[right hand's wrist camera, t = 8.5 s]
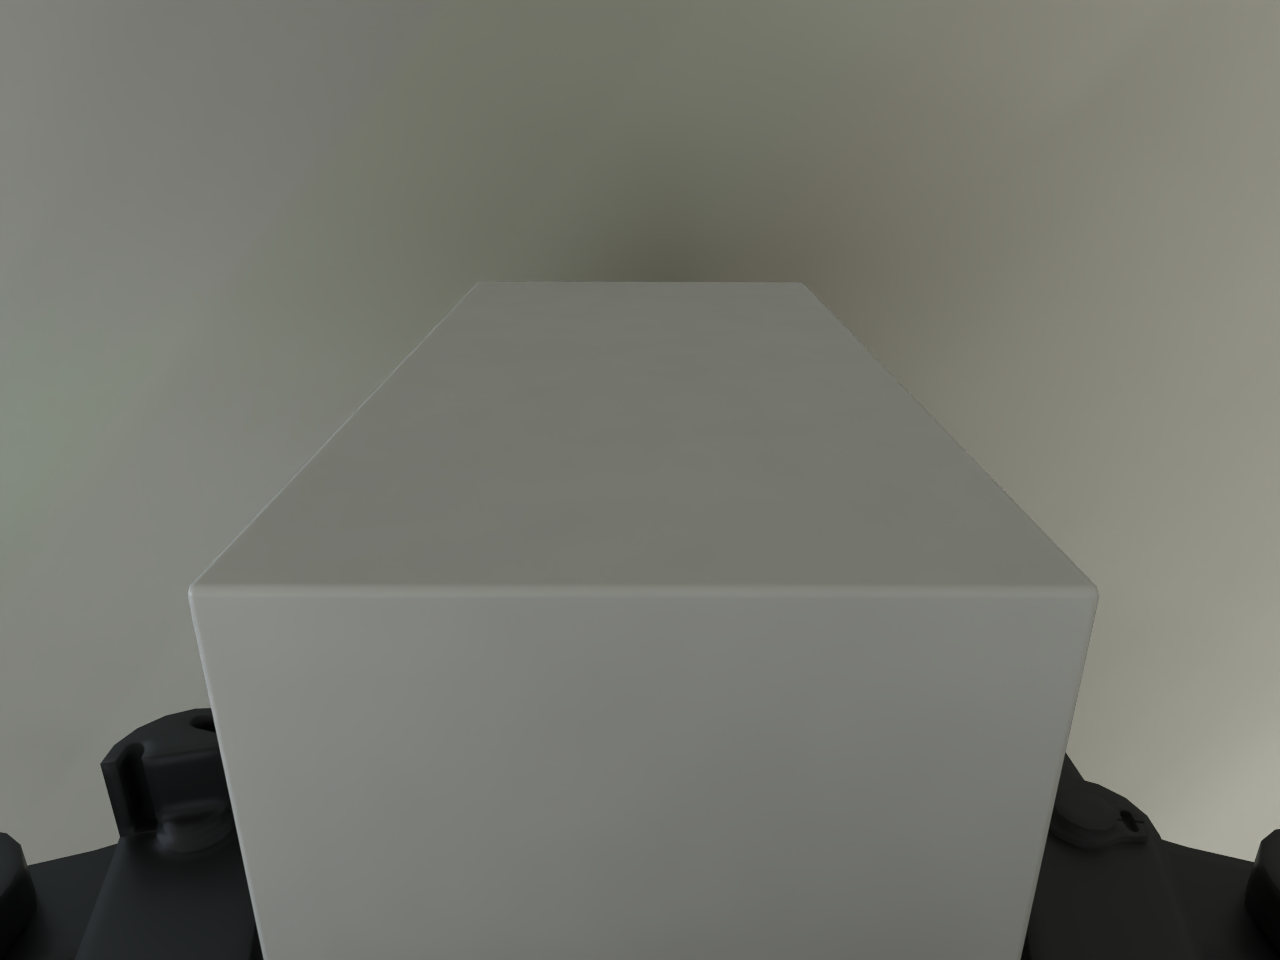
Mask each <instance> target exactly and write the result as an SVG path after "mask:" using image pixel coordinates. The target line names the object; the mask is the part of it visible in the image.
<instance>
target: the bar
mask: <svg viewBox="0 0 1280 960" xmlns="http://www.w3.org/2000/svg"><path fill="white" fill-rule="evenodd" d="M188 599H189V604H190V609H191V614H192V618H193V623H194V628H195V633H196V638H197V642H198V647H199V652H200V657H201V662H202V666H203V671H204V676H205V681H206V686H207V690H208V695H209V700H210V705H211V710H212V714H213V719H214V724H215V729H216V734H217V738H218V743H219V748H220V753H221V758H222V762H223V767H224V772H225V777H226V782H227V786H228V791H229V796H230V801H231V805H232V810H233V815H234V820H235V825H236V829H237V834H238V839H239V844H240V849H241V853H242V858H243V863H244V868H245V873H246V877H247V882H248V887H249V892H250V897H251V901H252V906H253V911H254V916H255V921H256V925H257V930H258V935H259V940H260V945H261V949H262V954H263V959H264V960H1020V959H1021V955H1022V950H1023V946H1024V941H1025V936H1026V932H1027V927H1028V922H1029V918H1030V913H1031V909H1032V904H1033V899H1034V895H1035V890H1036V885H1037V881H1038V876H1039V872H1040V867H1041V862H1042V858H1043V853H1044V848H1045V844H1046V839H1047V835H1048V830H1049V825H1050V821H1051V816H1052V811H1053V807H1054V802H1055V798H1056V793H1057V788H1058V784H1059V779H1060V775H1061V770H1062V765H1063V761H1064V756H1065V751H1066V747H1067V742H1068V738H1069V733H1070V728H1071V724H1072V719H1073V714H1074V710H1075V705H1076V701H1077V696H1078V691H1079V687H1080V682H1081V677H1082V673H1083V668H1084V664H1085V659H1086V654H1087V650H1088V645H1089V640H1090V636H1091V631H1092V627H1093V622H1094V617H1095V613H1096V608H1097V604H1098V599H1099V595H1098V590H1097V586H1096V585H1095V584H1094V583H1093V582H1092V581H1091V580H1090V579H1089V578H1088V577H1087V576H1086V575H1085V574H1084V573H1083V572H1082V571H1081V570H1080V569H1079V568H1078V567H1077V566H1076V565H1075V564H1074V563H1073V562H1072V561H1071V560H1070V558H1069V557H1068V556H1067V555H1066V554H1065V553H1064V552H1063V551H1062V550H1061V549H1060V548H1059V547H1058V546H1057V545H1056V544H1055V543H1054V542H1053V541H1052V540H1051V539H1050V538H1049V537H1048V536H1047V535H1046V534H1045V533H1044V532H1043V531H1042V530H1041V528H1040V527H1039V526H1038V525H1037V524H1036V523H1035V522H1034V521H1033V520H1032V519H1031V518H1030V517H1029V516H1028V515H1027V514H1026V513H1025V512H1024V511H1023V510H1022V509H1021V508H1020V507H1019V506H1018V505H1017V504H1016V503H1015V502H1014V501H1013V500H1012V499H1011V497H1010V496H1009V495H1008V494H1007V493H1006V492H1005V491H1004V490H1003V489H1002V488H1001V487H1000V486H999V485H998V484H997V483H996V482H995V481H994V480H993V479H992V478H991V477H990V476H989V475H988V474H987V473H986V472H985V471H984V470H983V469H982V467H981V466H980V465H979V464H978V463H977V462H976V461H975V460H974V459H973V458H972V457H971V456H970V455H969V454H968V453H967V452H966V451H965V450H964V449H963V448H962V447H961V446H960V445H959V444H958V443H957V442H956V441H955V440H954V439H953V437H952V436H951V435H950V434H949V433H948V432H947V431H946V430H945V429H944V428H943V427H942V426H941V425H940V424H939V423H938V422H937V421H936V420H935V419H934V418H933V417H932V416H931V415H930V414H929V413H928V412H927V411H926V410H925V409H924V407H923V406H922V405H921V404H920V403H919V402H918V401H917V400H916V399H915V398H914V397H913V396H912V395H911V394H910V393H909V392H908V391H907V390H906V389H905V388H904V387H903V386H902V385H901V384H900V383H899V382H898V381H897V380H896V379H895V378H894V376H893V375H892V374H891V373H890V372H889V371H888V370H887V369H886V368H885V367H884V366H883V365H882V364H881V363H880V362H879V361H878V360H877V359H876V358H875V357H874V356H873V355H872V354H871V353H870V352H869V351H868V350H867V349H866V348H865V346H864V345H863V344H862V343H861V342H860V341H859V340H858V339H857V338H856V337H855V336H854V335H853V334H852V333H851V332H850V331H849V330H848V329H847V328H846V327H845V326H844V325H843V324H842V323H841V322H840V321H839V320H838V319H837V318H836V316H835V315H834V314H833V313H832V312H831V311H830V310H829V309H828V308H827V307H826V306H825V305H824V304H823V303H822V302H821V301H820V300H819V299H818V298H817V297H816V296H815V295H814V294H813V293H812V292H811V291H810V290H809V289H808V288H807V286H806V285H805V284H804V283H801V282H478V283H476V284H475V285H474V286H473V288H472V289H471V290H470V291H469V292H468V293H467V294H466V295H465V296H464V297H463V298H462V299H461V300H460V301H459V302H458V303H457V304H456V305H455V307H454V308H453V309H452V310H451V311H450V312H449V313H448V314H447V315H446V316H445V317H444V318H443V319H442V320H441V321H440V322H439V323H438V324H437V326H436V327H435V328H434V329H433V330H432V331H431V332H430V333H429V334H428V335H427V336H426V337H425V338H424V339H423V340H422V341H421V342H420V343H419V345H418V346H417V347H416V348H415V349H414V350H413V351H412V352H411V353H410V354H409V355H408V356H407V357H406V358H405V359H404V360H403V361H402V362H401V364H400V365H399V366H398V367H397V368H396V369H395V370H394V371H393V372H392V373H391V374H390V375H389V376H388V377H387V378H386V379H385V380H384V381H383V383H382V384H381V385H380V386H379V387H378V388H377V389H376V390H375V391H374V392H373V393H372V394H371V395H370V396H369V397H368V398H367V399H366V400H365V402H364V403H363V404H362V405H361V406H360V407H359V408H358V409H357V410H356V411H355V412H354V413H353V414H352V415H351V416H350V417H349V418H348V419H347V421H346V422H345V423H344V424H343V425H342V426H341V427H340V428H339V429H338V430H337V431H336V432H335V433H334V434H333V435H332V436H331V437H330V438H329V440H328V441H327V442H326V443H325V444H324V445H323V446H322V447H321V448H320V449H319V450H318V451H317V452H316V453H315V454H314V455H313V456H312V458H311V459H310V460H309V461H308V462H307V463H306V464H305V465H304V466H303V467H302V468H301V469H300V470H299V471H298V472H297V473H296V474H295V475H294V477H293V478H292V479H291V480H290V481H289V482H288V483H287V484H286V485H285V486H284V487H283V488H282V489H281V490H280V491H279V492H278V493H277V494H276V496H275V497H274V498H273V499H272V500H271V501H270V502H269V503H268V504H267V505H266V506H265V507H264V508H263V509H262V510H261V511H260V512H259V513H258V515H257V516H256V517H255V518H254V519H253V520H252V521H251V522H250V523H249V524H248V525H247V526H246V527H245V528H244V529H243V530H242V531H241V532H240V534H239V535H238V536H237V537H236V538H235V539H234V540H233V541H232V542H231V543H230V544H229V545H228V546H227V547H226V548H225V549H224V550H223V551H222V553H221V554H220V555H219V556H218V557H217V558H216V559H215V560H214V561H213V562H212V563H211V564H210V565H209V566H208V567H207V568H206V569H205V570H204V572H203V573H202V574H201V575H200V576H199V577H198V578H197V579H196V580H195V581H194V582H193V583H192V584H191V585H190V588H189V592H188Z"/></svg>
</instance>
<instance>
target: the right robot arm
mask: <svg viewBox="0 0 1280 960" xmlns="http://www.w3.org/2000/svg"><path fill="white" fill-rule="evenodd" d="M100 765H101V768H102V772H103V776H104V779H105V783H106V787H107V790H108V794H109V798H110V801H111V805H112V809H113V812H114V816H115V820H116V823H117V827H118V831H119V834H120V839H119V841H118V844H114V845H111V846H108V847H104V848H101V849H98V850H94V851H90V852H86V853H81V854H77V855H73V856H68V857H64V858H59V859H55V860H51V861H46V862H42V863H37V864H33V865H29V866H27V863H26V860H25V857H24V854H23V851H22V848H21V845H20V844H19V843H18V842H16V841H15V840H14V839H13V838H12V837H10V836H9V835H8V834H7V833H1V832H0V960H264V959H263V954H262V949H261V945H260V940H259V935H258V930H257V925H256V921H255V916H254V911H253V906H252V901H251V897H250V892H249V887H248V882H247V877H246V873H245V868H244V863H243V858H242V853H241V849H240V844H239V839H238V834H237V829H236V825H235V820H234V815H233V810H232V805H231V801H230V796H229V791H228V786H227V782H226V777H225V772H224V767H223V762H222V758H221V753H220V748H219V743H218V738H217V734H216V729H215V724H214V719H213V714H212V710H211V708H203V709H192V710H188V711H184V712H180V713H175V714H171V715H167V716H164V717H162V718H160V719H157V720H155V721H153V722H151V723H148V724H146V725H144V726H142V727H139V728H137V729H136V730H134V731H133V732H132V733H130V734H129V735H128V736H126V737H125V738H123V739H122V740H121V741H119V742H118V743H117V744H115V745H114V746H113V748H112V749H111V750H110V752H109V753H108V754H107V756H106V757H105V758H104V760H103V761H102V762H101V764H100ZM1020 960H1280V829H1277V830H1274V831H1273V832H1272V833H1271V834H1269V835H1268V836H1267V837H1266V838H1264V839H1263V840H1262V841H1261V843H1260V847H1259V850H1258V853H1257V856H1256V859H1255V862H1250V861H1246V860H1242V859H1237V858H1233V857H1228V856H1224V855H1220V854H1215V853H1211V852H1206V851H1202V850H1198V849H1193V848H1189V847H1185V846H1182V845H1178V844H1175V843H1172V842H1168V841H1165V840H1162V839H1161V837H1160V835H1159V833H1158V832H1157V830H1156V829H1155V827H1154V826H1153V824H1152V823H1151V821H1150V820H1149V818H1148V816H1147V815H1146V814H1144V813H1143V812H1142V811H1141V810H1139V809H1138V808H1137V807H1136V806H1135V805H1133V804H1132V803H1131V802H1130V801H1129V800H1127V799H1126V798H1125V797H1123V796H1121V795H1119V794H1117V793H1115V792H1113V791H1111V790H1109V789H1107V788H1105V787H1103V786H1101V785H1099V784H1095V783H1092V782H1088V781H1084V779H1083V778H1082V776H1081V775H1080V773H1079V772H1078V770H1077V769H1076V767H1075V766H1074V764H1073V763H1072V761H1071V760H1070V758H1069V757H1068V755H1067V754H1066V752H1065V756H1064V761H1063V765H1062V770H1061V775H1060V779H1059V784H1058V788H1057V793H1056V798H1055V802H1054V807H1053V811H1052V816H1051V821H1050V825H1049V830H1048V835H1047V839H1046V844H1045V848H1044V853H1043V858H1042V862H1041V867H1040V872H1039V876H1038V881H1037V885H1036V890H1035V895H1034V899H1033V904H1032V909H1031V913H1030V918H1029V922H1028V927H1027V932H1026V936H1025V941H1024V946H1023V950H1022V955H1021V959H1020Z"/></svg>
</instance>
